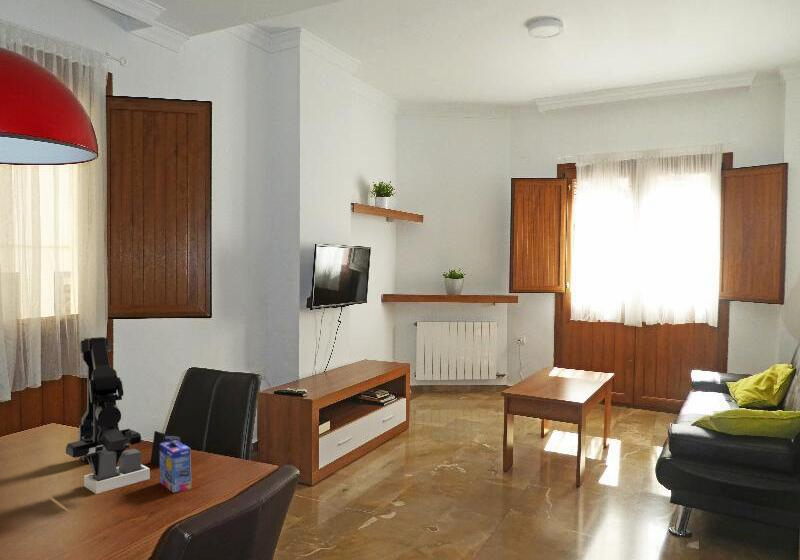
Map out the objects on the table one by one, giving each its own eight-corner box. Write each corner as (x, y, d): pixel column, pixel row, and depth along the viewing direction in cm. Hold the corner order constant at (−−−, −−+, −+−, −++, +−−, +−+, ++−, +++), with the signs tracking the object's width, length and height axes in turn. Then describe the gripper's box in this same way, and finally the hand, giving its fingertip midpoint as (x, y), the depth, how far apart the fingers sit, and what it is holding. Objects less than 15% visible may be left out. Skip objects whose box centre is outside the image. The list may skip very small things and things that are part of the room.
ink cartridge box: (158, 484, 171) (158, 435, 170) (176, 479, 175) (177, 431, 174) (172, 494, 164) (173, 443, 163) (191, 489, 168) (192, 439, 167)
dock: (84, 487, 167) (84, 475, 167) (137, 473, 179) (137, 462, 179) (96, 495, 162) (96, 482, 162) (149, 480, 174) (149, 468, 174)
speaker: (154, 468, 183) (157, 434, 183) (150, 464, 187) (153, 431, 188) (179, 466, 187) (182, 433, 187) (174, 462, 192) (177, 429, 192)
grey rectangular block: (93, 480, 167) (93, 452, 167) (109, 475, 171) (109, 448, 170) (100, 484, 165) (100, 456, 164) (116, 479, 168) (116, 452, 168)
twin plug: (119, 478, 173) (119, 452, 173) (133, 474, 176) (133, 448, 176) (125, 482, 170) (126, 455, 170) (140, 478, 174) (141, 451, 173)
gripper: (81, 431, 155) (81, 490, 155) (150, 417, 169) (150, 471, 170) (64, 423, 162) (65, 479, 163) (132, 410, 176) (132, 462, 177)
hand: (104, 472), depth 168 cm, fingers closed on grey rectangular block, 4 cm apart
